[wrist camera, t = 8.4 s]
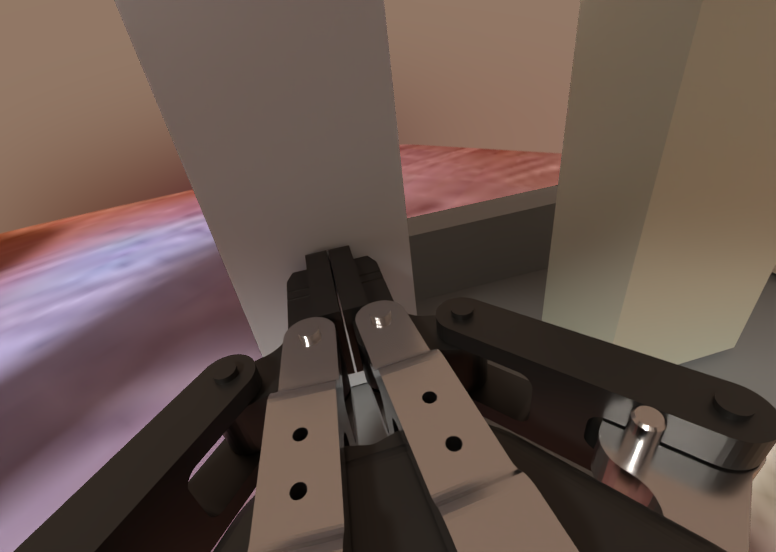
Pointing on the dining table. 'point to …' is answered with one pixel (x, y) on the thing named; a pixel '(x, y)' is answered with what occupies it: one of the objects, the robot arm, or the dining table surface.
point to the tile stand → (536, 289)
